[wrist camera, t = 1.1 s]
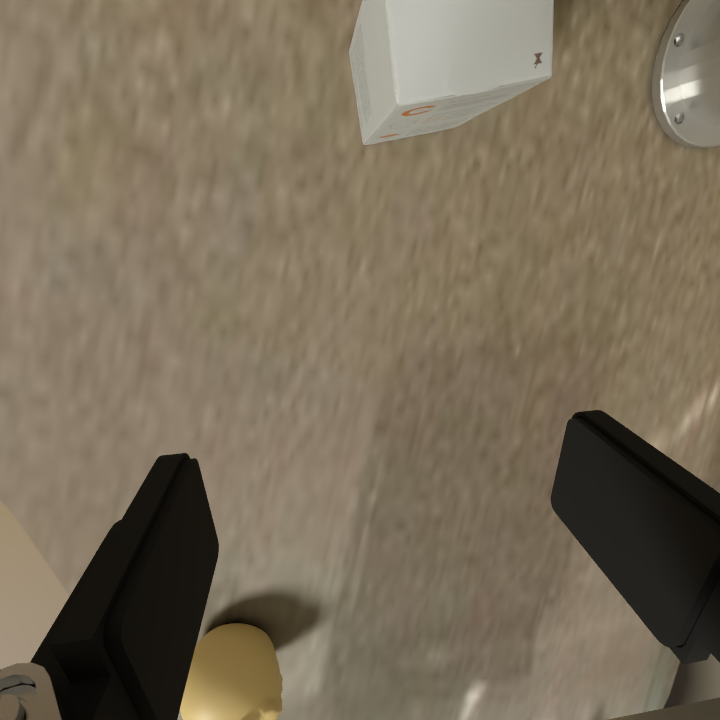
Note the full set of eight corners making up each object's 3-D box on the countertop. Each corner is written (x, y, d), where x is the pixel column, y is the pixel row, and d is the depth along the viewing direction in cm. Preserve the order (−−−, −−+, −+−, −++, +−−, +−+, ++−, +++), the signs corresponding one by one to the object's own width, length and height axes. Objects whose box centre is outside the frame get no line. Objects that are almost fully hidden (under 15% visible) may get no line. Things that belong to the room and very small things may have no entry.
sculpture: (223, 675, 54) (204, 782, 44) (174, 631, 49) (141, 740, 39) (295, 646, 53) (292, 746, 43) (253, 598, 48) (239, 700, 38)
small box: (451, 30, 28) (561, -101, 16) (458, 128, 30) (556, 79, 18) (345, 49, 27) (376, -70, 15) (361, 147, 30) (397, 110, 18)
